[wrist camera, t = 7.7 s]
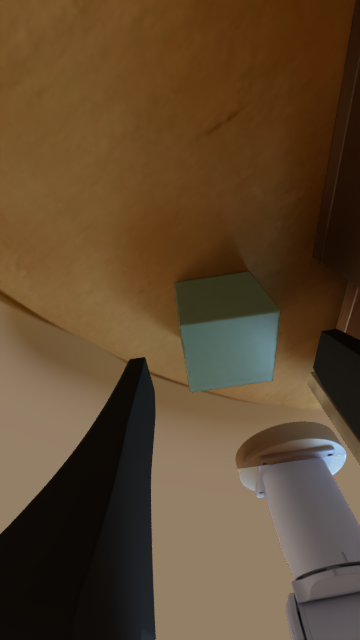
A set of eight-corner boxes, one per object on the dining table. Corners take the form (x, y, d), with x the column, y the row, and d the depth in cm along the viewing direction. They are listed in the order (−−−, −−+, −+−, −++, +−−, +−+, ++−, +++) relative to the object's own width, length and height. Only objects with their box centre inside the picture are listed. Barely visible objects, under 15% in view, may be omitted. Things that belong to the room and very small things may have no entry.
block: (248, 331, 15) (273, 381, 12) (183, 341, 15) (190, 393, 12) (249, 270, 13) (281, 310, 10) (173, 282, 13) (178, 325, 10)
